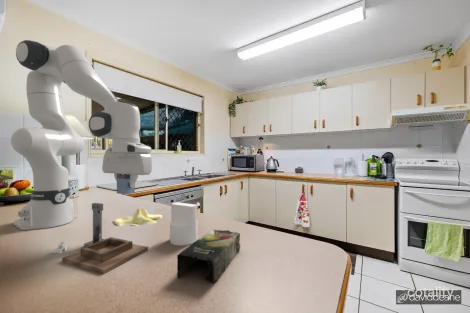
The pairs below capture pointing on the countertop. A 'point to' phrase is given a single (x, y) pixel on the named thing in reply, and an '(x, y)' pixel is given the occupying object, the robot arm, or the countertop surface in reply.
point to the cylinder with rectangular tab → (183, 223)
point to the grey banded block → (124, 184)
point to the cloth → (138, 218)
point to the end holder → (105, 255)
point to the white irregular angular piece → (60, 247)
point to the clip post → (96, 223)
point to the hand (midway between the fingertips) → (125, 186)
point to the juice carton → (211, 252)
